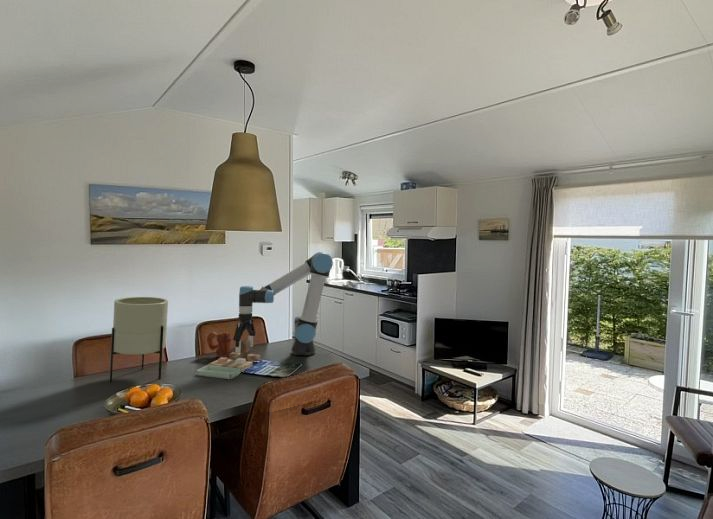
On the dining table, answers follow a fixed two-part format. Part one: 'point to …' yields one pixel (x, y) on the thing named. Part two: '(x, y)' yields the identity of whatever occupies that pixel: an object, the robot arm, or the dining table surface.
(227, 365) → the board
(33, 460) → the dining table surface
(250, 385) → the dining table surface
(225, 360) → the tile
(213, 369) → the tray
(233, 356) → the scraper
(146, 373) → the dining table surface
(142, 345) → the planter
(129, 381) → the dining table surface
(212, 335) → the reddish brown curved figurine
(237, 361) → the tile
